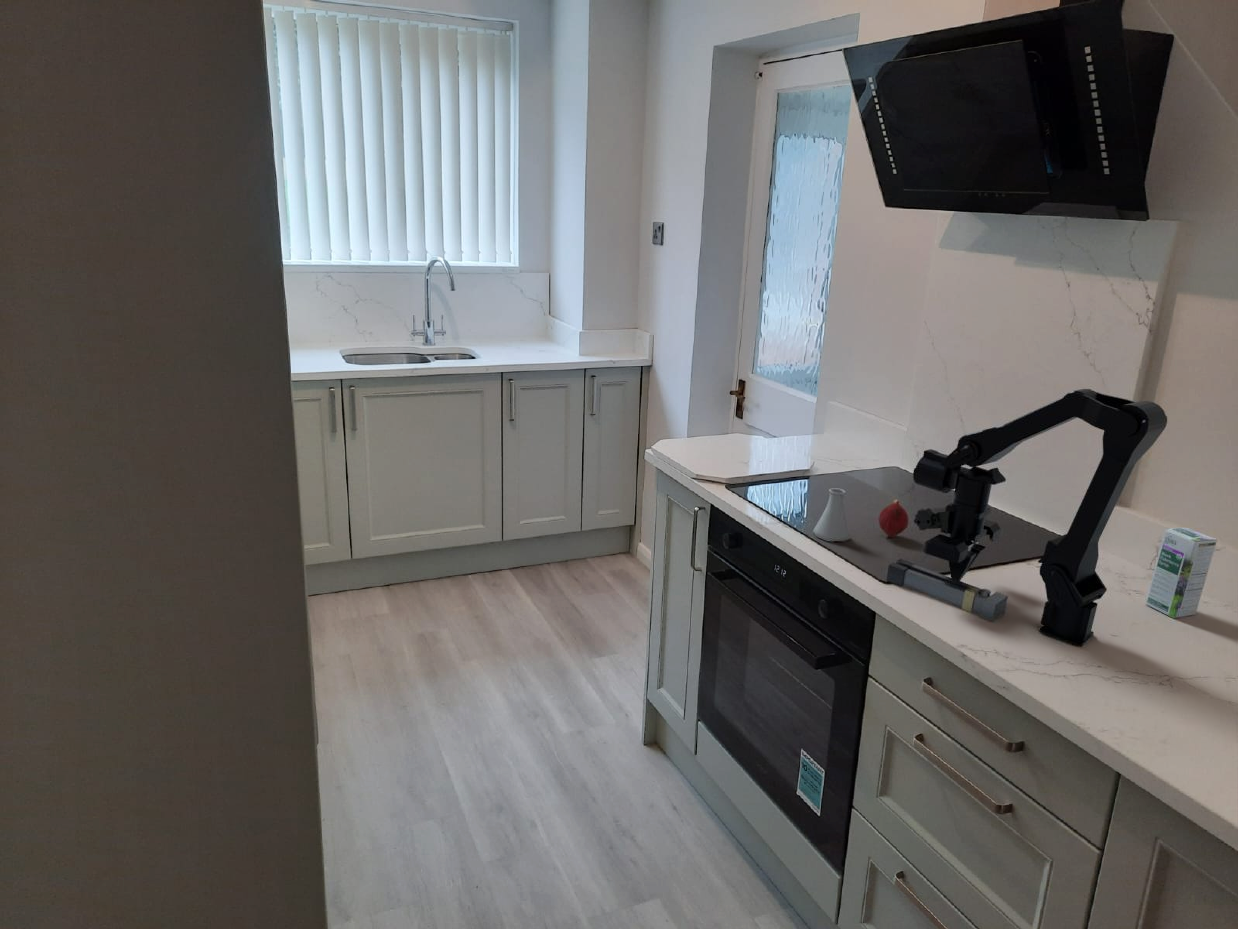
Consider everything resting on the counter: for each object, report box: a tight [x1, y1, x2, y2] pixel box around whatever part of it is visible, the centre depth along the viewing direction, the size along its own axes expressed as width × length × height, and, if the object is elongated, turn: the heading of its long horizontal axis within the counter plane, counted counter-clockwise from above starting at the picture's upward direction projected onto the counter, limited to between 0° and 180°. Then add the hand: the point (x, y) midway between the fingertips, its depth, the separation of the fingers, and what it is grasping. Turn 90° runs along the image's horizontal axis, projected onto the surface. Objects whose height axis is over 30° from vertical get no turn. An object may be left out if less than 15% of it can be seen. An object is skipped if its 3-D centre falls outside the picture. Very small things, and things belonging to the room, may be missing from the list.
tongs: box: [885, 562, 1009, 623], centre depth 149 cm, size 20×5×4 cm, turn 45°
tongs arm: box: [895, 558, 992, 597], centre depth 151 cm, size 17×2×3 cm, turn 43°
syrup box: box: [1145, 527, 1218, 619], centre depth 147 cm, size 6×6×14 cm
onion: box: [878, 499, 909, 538], centre depth 175 cm, size 6×6×8 cm
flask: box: [812, 487, 851, 542], centre depth 173 cm, size 7×7×10 cm
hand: (955, 582), depth 154 cm, fingers closed
